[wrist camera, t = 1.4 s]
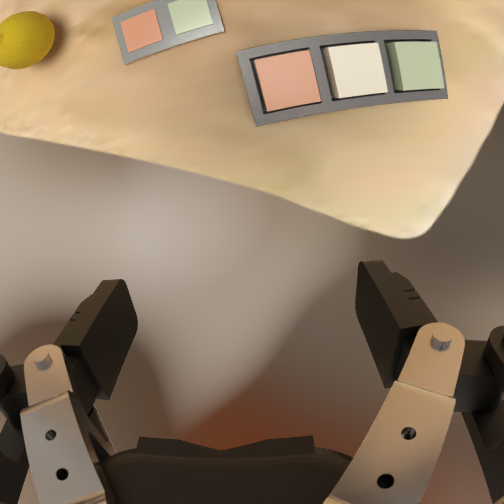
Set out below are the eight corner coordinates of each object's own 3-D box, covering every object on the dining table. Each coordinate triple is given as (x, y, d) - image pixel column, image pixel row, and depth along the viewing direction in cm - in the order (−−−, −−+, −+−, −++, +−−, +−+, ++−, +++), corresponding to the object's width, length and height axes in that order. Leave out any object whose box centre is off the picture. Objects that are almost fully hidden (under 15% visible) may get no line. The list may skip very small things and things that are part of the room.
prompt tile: (114, 18, 21) (111, 17, 21) (210, -16, 20) (209, -19, 20) (127, 64, 24) (123, 64, 23) (224, 32, 23) (224, 30, 22)
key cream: (320, 50, 21) (327, 47, 19) (367, 45, 21) (378, 42, 19) (331, 96, 23) (339, 98, 21) (376, 90, 23) (387, 92, 21)
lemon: (20, 63, 22) (-31, 69, 15) (36, 13, 20) (-14, 7, 13) (58, 70, 23) (8, 75, 16) (76, 18, 21) (29, 8, 14)
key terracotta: (253, 62, 22) (254, 60, 20) (303, 52, 22) (309, 49, 20) (265, 108, 24) (267, 111, 22) (314, 99, 24) (321, 101, 21)
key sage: (382, 44, 21) (394, 42, 19) (422, 43, 20) (436, 41, 18) (391, 89, 23) (403, 90, 21) (430, 86, 22) (444, 88, 20)
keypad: (237, 55, 24) (235, 51, 21) (417, 33, 22) (436, 30, 19) (255, 121, 27) (255, 126, 24) (428, 94, 25) (448, 98, 22)
